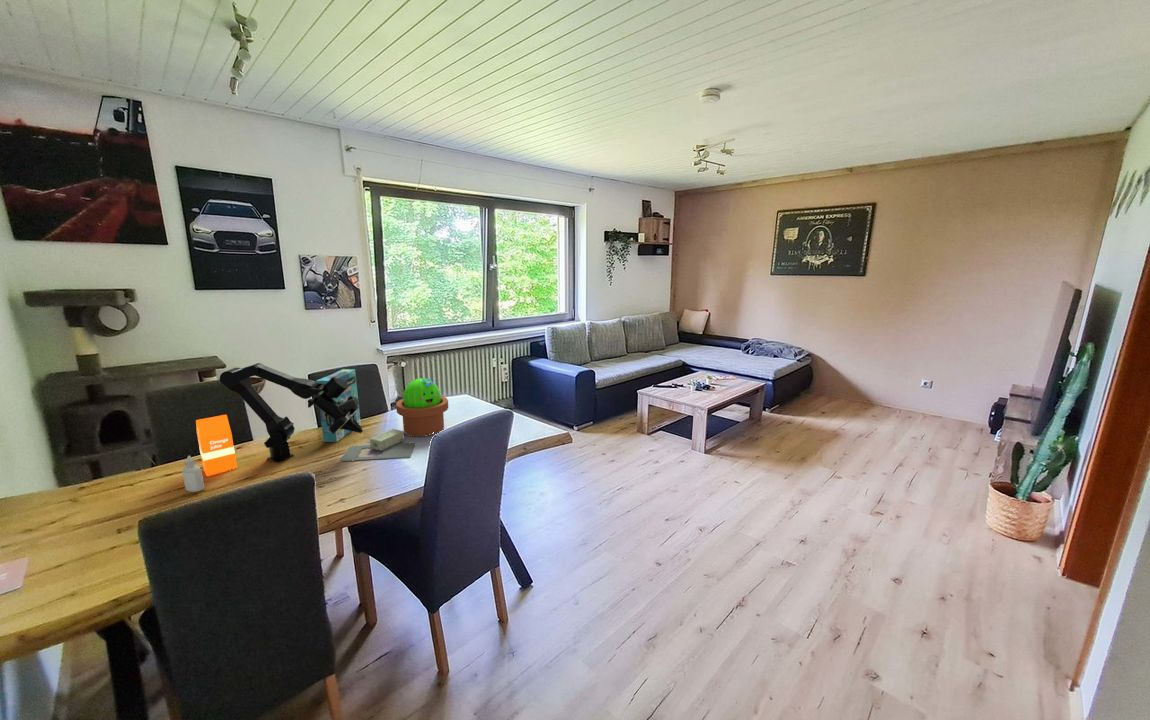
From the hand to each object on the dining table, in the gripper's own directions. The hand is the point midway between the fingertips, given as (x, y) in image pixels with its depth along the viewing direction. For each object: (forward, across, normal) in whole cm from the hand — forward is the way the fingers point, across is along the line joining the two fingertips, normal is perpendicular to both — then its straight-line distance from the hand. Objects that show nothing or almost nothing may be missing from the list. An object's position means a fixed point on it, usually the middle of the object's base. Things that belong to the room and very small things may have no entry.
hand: (361, 431), depth 172 cm
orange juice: (-26, -6, +41) cm, 49 cm away
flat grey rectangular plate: (+11, 0, +2) cm, 11 cm away
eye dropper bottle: (-26, -22, +40) cm, 52 cm away
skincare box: (+7, +2, +2) cm, 8 cm away
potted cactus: (+20, +22, -8) cm, 31 cm away
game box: (-4, +24, +17) cm, 29 cm away
